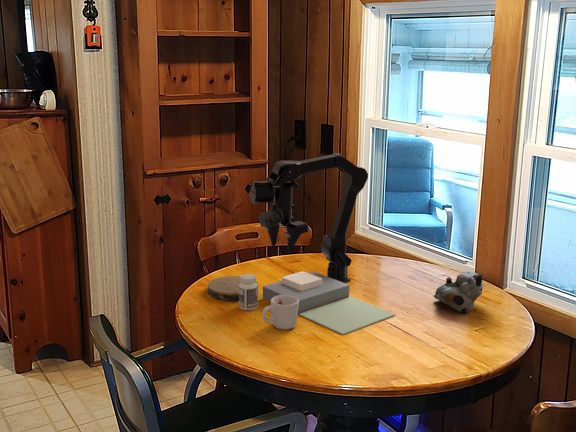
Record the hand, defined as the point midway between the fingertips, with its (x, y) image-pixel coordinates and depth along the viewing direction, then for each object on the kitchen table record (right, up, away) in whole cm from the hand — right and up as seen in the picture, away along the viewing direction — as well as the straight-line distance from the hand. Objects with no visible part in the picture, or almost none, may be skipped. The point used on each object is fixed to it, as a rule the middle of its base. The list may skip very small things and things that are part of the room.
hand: (281, 248), depth 223 cm
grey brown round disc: (-15, -14, -2) cm, 21 cm away
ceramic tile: (+6, -11, -5) cm, 14 cm away
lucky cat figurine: (+54, -17, -10) cm, 57 cm away
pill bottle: (-10, -17, -14) cm, 24 cm away
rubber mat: (+20, -19, -18) cm, 33 cm away
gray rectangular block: (+8, -15, -5) cm, 18 cm away
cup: (0, -21, -27) cm, 35 cm away
